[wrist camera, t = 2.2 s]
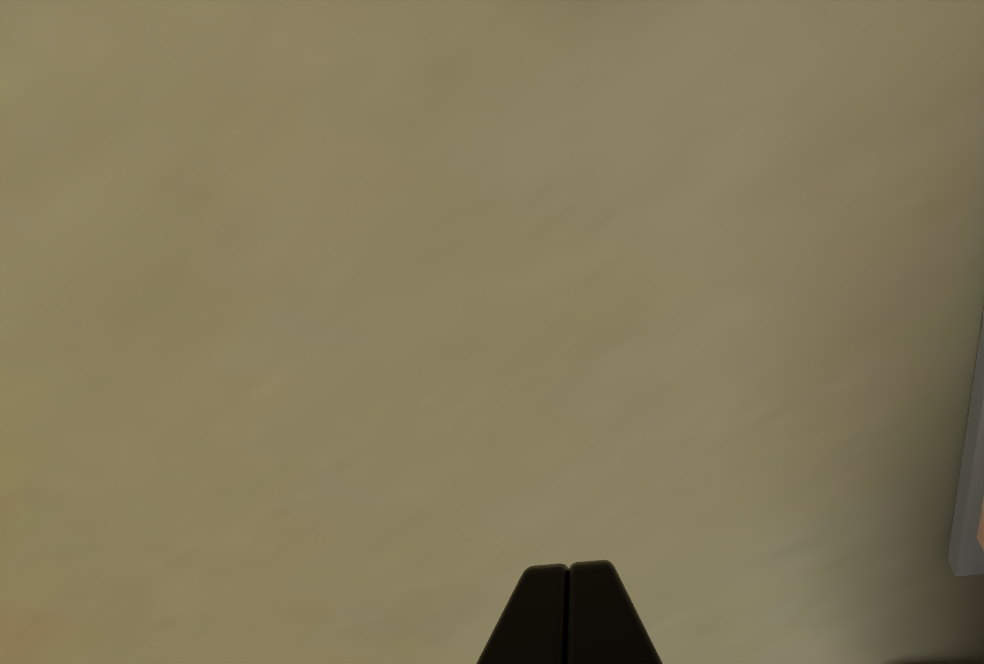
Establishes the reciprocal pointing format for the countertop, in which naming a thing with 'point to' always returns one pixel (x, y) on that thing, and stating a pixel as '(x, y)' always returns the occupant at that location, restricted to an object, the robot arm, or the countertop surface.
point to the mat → (970, 482)
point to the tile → (981, 528)
